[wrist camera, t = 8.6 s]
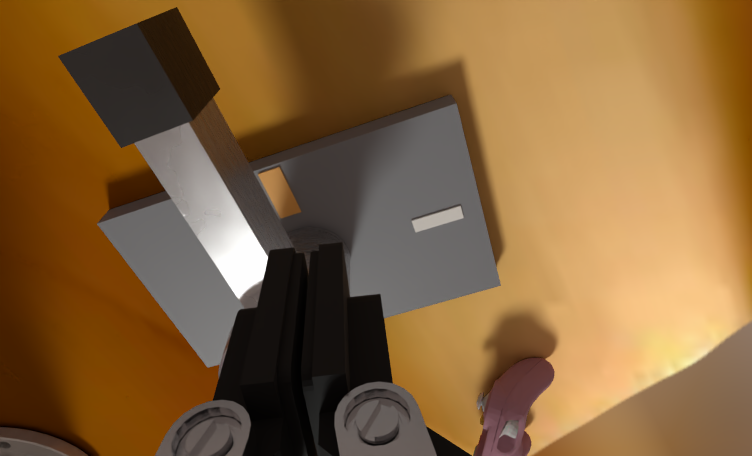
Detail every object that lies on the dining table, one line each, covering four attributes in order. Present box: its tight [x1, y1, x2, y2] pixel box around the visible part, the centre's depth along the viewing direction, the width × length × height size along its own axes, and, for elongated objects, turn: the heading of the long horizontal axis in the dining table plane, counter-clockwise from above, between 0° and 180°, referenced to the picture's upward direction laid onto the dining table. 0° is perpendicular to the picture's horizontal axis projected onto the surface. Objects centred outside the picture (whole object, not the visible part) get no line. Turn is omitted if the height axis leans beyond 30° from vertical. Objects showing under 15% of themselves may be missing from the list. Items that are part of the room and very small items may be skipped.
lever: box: [58, 7, 350, 377], centre depth 20 cm, size 17×6×9 cm, turn 19°
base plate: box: [97, 95, 501, 367], centre depth 28 cm, size 20×12×2 cm, turn 108°
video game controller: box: [473, 358, 554, 456], centre depth 35 cm, size 10×5×7 cm, turn 178°
